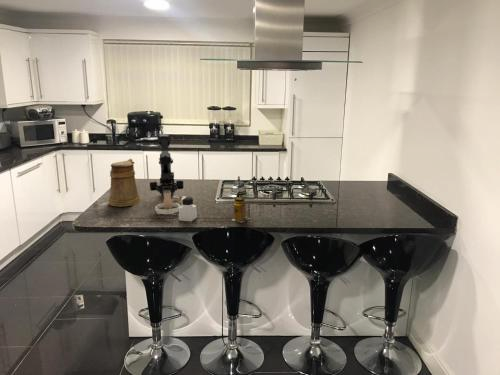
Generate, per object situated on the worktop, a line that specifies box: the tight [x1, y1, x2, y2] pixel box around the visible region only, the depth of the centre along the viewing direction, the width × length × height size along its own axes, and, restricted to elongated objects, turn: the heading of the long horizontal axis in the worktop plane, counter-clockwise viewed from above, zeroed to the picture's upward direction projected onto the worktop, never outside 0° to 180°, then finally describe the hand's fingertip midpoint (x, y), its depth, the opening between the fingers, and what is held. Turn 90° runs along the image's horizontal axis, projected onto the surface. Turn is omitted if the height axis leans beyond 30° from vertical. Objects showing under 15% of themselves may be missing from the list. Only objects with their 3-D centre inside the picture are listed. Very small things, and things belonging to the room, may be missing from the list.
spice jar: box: [163, 190, 173, 210], centre depth 241 cm, size 4×4×11 cm
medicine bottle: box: [178, 196, 198, 223], centre depth 228 cm, size 7×7×12 cm
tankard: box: [108, 158, 141, 208], centre depth 257 cm, size 18×24×25 cm
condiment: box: [231, 196, 252, 223], centre depth 227 cm, size 7×8×12 cm
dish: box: [154, 202, 182, 215], centre depth 242 cm, size 13×13×3 cm
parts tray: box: [172, 195, 183, 205], centre depth 258 cm, size 10×8×3 cm
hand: (167, 198), depth 239 cm, fingers closed on spice jar, 4 cm apart
